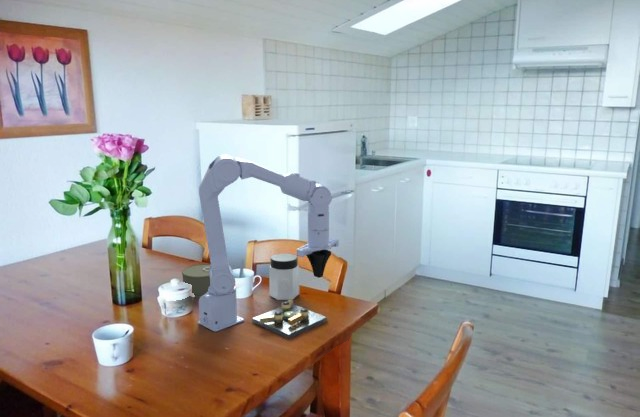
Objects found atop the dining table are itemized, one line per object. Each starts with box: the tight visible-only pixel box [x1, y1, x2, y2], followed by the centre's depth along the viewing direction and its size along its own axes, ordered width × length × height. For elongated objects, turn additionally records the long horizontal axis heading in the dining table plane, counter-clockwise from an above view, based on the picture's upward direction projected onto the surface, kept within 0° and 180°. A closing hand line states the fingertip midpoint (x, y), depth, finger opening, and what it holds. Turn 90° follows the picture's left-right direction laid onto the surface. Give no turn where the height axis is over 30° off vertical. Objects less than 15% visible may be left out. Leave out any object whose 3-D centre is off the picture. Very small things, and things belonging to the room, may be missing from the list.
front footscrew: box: [288, 307, 309, 325], centre depth 132 cm, size 7×2×2 cm, turn 142°
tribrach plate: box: [251, 303, 328, 340], centre depth 135 cm, size 14×14×3 cm
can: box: [181, 263, 211, 299], centre depth 157 cm, size 12×12×7 cm
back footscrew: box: [281, 299, 294, 312], centre depth 141 cm, size 6×2×2 cm, turn 167°
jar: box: [268, 253, 300, 301], centre depth 153 cm, size 9×8×12 cm
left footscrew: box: [260, 311, 283, 324], centre depth 132 cm, size 6×2×2 cm, turn 107°
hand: (318, 276), depth 140 cm, fingers closed
